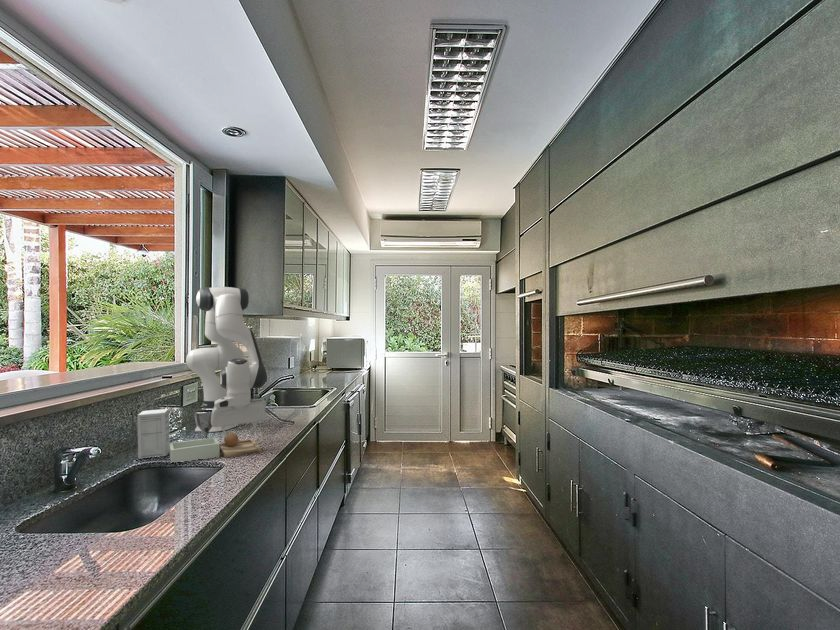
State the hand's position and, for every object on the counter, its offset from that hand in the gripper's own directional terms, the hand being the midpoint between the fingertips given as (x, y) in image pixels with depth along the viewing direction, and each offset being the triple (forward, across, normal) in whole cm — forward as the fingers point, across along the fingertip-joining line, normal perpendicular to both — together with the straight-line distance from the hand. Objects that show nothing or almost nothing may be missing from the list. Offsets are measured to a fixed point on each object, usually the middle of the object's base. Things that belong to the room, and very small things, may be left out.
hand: (239, 435), depth 182 cm
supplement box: (+6, +29, -11) cm, 32 cm away
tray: (+6, 0, 0) cm, 6 cm away
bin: (+6, +16, 0) cm, 17 cm away
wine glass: (+6, +11, -11) cm, 17 cm away
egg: (+2, +2, -1) cm, 3 cm away
